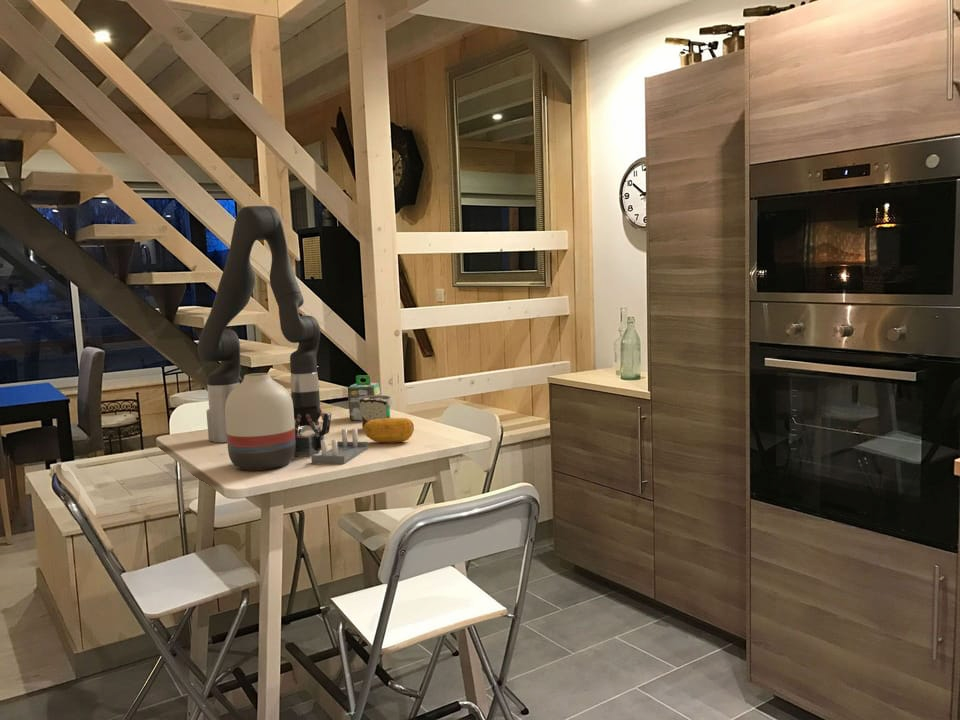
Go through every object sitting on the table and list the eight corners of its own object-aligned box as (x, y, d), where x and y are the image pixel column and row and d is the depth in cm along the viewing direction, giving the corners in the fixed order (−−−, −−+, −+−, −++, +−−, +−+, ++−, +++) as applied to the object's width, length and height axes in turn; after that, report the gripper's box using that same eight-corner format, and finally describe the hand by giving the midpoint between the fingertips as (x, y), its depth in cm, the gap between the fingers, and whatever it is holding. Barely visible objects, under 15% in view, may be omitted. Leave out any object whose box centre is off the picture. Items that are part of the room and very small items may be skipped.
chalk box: (382, 415, 266) (379, 372, 264) (376, 420, 256) (373, 376, 255) (355, 416, 266) (353, 373, 265) (348, 421, 257) (346, 377, 256)
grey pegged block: (311, 463, 200) (310, 441, 199) (337, 448, 216) (336, 428, 216) (344, 463, 198) (342, 441, 197) (367, 448, 214) (366, 428, 214)
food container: (402, 427, 243) (400, 396, 242) (389, 431, 238) (387, 399, 237) (371, 424, 249) (370, 394, 248) (359, 428, 244) (357, 397, 243)
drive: (292, 455, 209) (291, 437, 209) (307, 447, 219) (306, 429, 218) (310, 456, 208) (308, 437, 207) (324, 447, 218) (323, 429, 217)
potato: (369, 439, 227) (367, 416, 226) (417, 439, 224) (416, 415, 224) (361, 445, 219) (360, 420, 219) (411, 445, 217) (410, 420, 216)
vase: (278, 454, 212) (272, 368, 209) (308, 464, 199) (303, 373, 197) (218, 466, 201) (211, 375, 198) (246, 477, 188) (239, 381, 186)
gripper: (274, 391, 209) (278, 452, 211) (323, 391, 206) (327, 453, 208) (287, 387, 217) (291, 446, 219) (335, 386, 214) (338, 447, 215)
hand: (308, 449), depth 213 cm, fingers closed on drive, 5 cm apart
